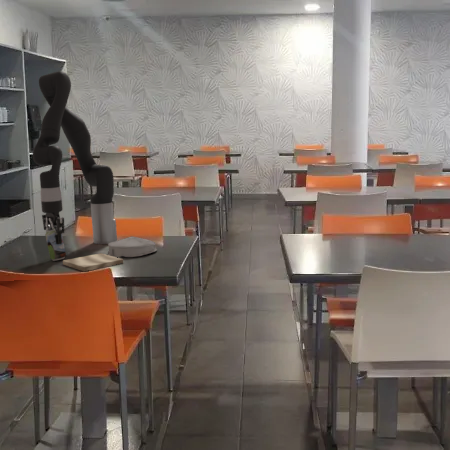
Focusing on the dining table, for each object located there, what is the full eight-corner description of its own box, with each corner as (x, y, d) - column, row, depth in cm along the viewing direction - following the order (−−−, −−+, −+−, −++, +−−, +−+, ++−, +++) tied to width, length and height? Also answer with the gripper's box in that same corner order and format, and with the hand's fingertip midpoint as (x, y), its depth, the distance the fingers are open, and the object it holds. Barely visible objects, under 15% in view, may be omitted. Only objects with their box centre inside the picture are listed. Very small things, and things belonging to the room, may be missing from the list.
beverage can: (62, 262, 238) (59, 230, 236) (44, 261, 240) (41, 230, 238) (69, 258, 244) (67, 227, 242) (52, 257, 246) (49, 227, 244)
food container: (96, 255, 251) (95, 238, 250) (135, 245, 265) (134, 229, 264) (128, 262, 237) (127, 244, 236) (168, 251, 252) (167, 234, 250)
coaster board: (101, 256, 244) (100, 253, 244) (123, 263, 232) (123, 259, 232) (63, 264, 234) (62, 260, 234) (84, 271, 222) (83, 267, 222)
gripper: (69, 199, 235) (72, 243, 239) (52, 196, 246) (55, 238, 249) (50, 202, 231) (54, 247, 234) (33, 198, 241) (37, 241, 244)
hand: (54, 242), depth 241 cm, fingers closed on beverage can, 6 cm apart
